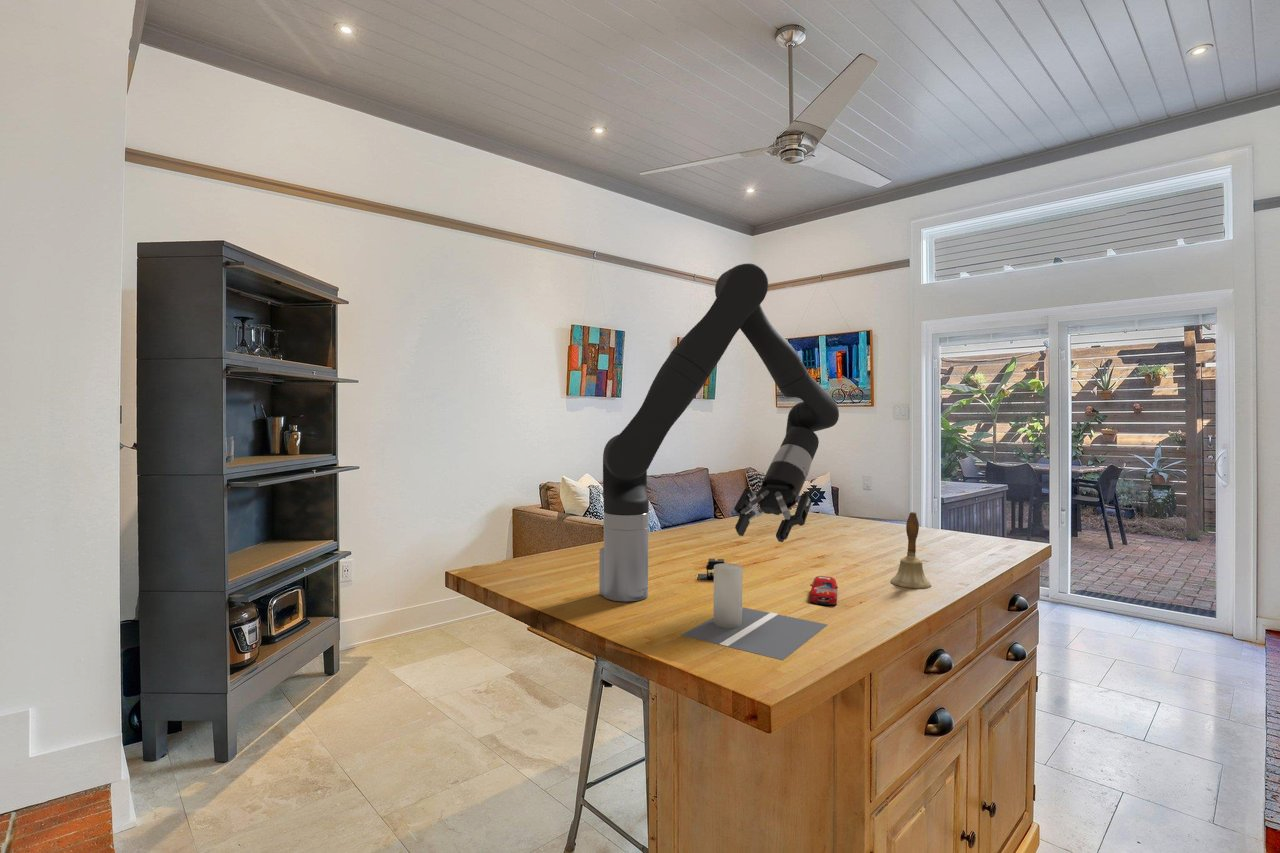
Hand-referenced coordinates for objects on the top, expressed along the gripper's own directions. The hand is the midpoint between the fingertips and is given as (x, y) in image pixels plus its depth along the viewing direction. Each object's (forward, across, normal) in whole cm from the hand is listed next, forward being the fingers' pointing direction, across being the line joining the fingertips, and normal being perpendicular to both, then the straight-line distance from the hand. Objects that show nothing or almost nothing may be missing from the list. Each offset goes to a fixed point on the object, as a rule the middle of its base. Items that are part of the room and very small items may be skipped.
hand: (758, 536), depth 118 cm
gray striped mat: (+17, +6, +3) cm, 18 cm away
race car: (-2, +5, +23) cm, 24 cm away
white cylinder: (+17, 0, +2) cm, 17 cm away
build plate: (-1, -20, +22) cm, 30 cm away
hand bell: (-19, +15, +39) cm, 46 cm away
